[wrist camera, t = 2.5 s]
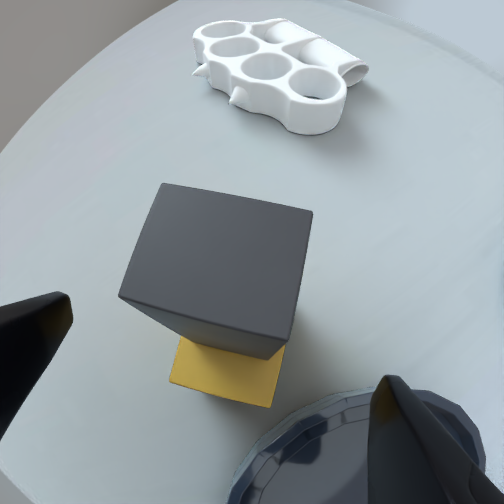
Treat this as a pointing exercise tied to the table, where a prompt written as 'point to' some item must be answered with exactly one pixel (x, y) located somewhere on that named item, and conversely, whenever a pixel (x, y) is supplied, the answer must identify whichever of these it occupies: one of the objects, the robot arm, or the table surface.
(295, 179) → the table surface
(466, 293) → the table surface
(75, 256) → the table surface
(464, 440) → the bowl
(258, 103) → the knuckle duster
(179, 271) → the stacked two-tone block
